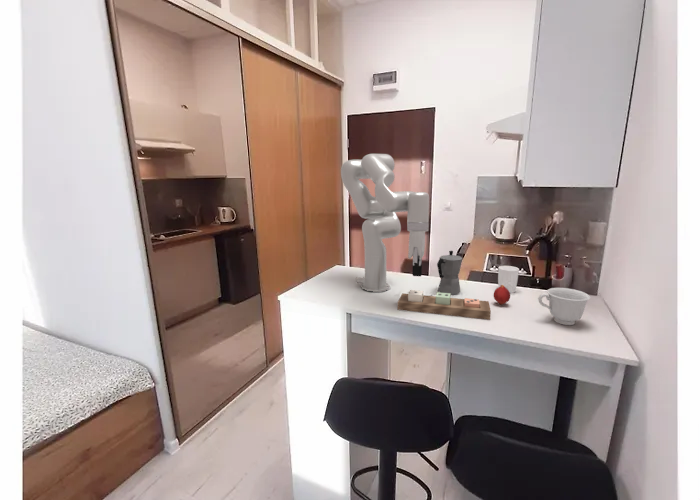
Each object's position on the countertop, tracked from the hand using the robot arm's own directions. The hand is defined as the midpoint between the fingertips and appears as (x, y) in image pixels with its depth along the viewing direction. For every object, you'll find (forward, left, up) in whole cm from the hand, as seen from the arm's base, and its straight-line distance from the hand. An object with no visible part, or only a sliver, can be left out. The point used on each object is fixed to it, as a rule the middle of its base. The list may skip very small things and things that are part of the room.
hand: (417, 275), depth 123 cm
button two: (+10, 0, -10) cm, 14 cm away
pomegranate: (+31, +11, -13) cm, 35 cm away
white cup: (+35, +29, -13) cm, 47 cm away
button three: (+20, 0, -11) cm, 23 cm away
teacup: (+48, 0, -13) cm, 49 cm away
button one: (0, 0, -10) cm, 10 cm away
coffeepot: (+11, +20, -13) cm, 26 cm away
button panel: (+10, 0, -12) cm, 16 cm away
